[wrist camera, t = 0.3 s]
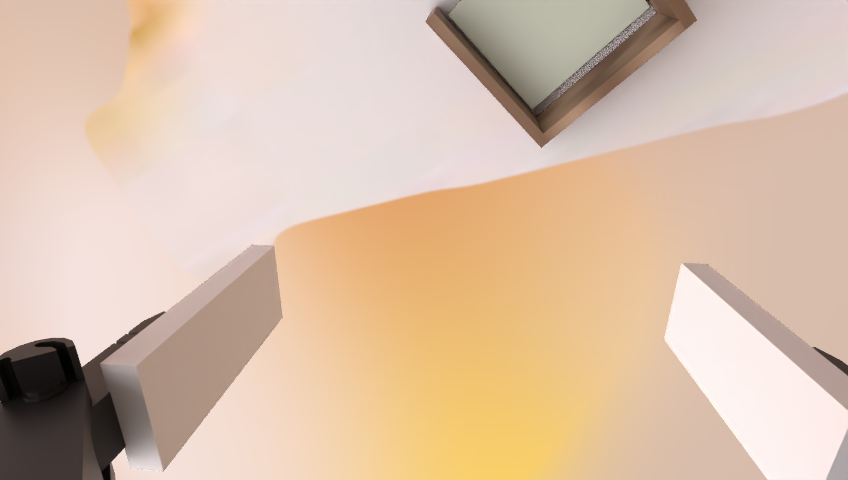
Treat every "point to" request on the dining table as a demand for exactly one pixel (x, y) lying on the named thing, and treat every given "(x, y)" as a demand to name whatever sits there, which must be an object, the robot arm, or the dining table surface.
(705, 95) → the dining table surface
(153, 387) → the robot arm
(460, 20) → the tray
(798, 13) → the dining table surface
